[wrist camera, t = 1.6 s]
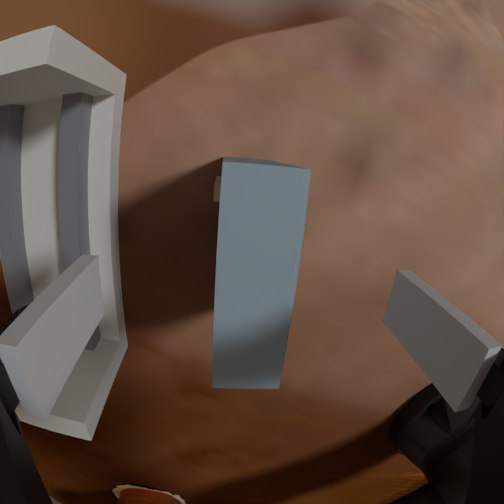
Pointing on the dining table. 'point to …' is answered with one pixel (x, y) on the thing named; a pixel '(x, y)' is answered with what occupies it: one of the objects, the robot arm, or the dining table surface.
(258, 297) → the sliding door panel
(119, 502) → the vessel
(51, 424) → the door track
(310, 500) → the dining table surface
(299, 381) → the dining table surface
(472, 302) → the dining table surface
